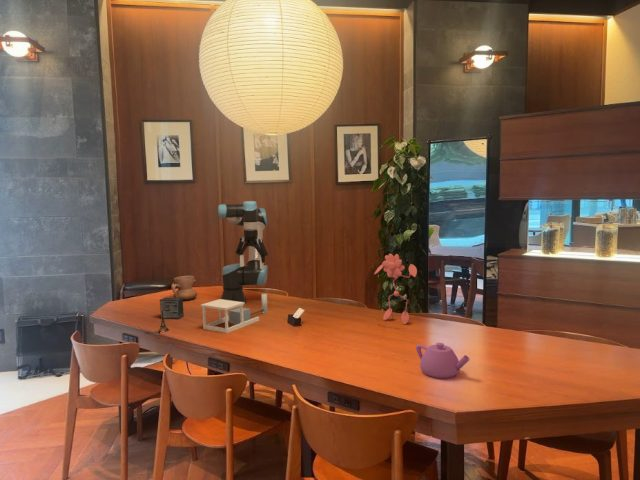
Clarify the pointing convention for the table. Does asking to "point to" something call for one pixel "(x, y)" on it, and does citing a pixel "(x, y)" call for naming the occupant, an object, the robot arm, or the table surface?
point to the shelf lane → (225, 306)
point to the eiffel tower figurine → (161, 326)
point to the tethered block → (246, 312)
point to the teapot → (440, 361)
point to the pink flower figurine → (395, 269)
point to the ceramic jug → (184, 288)
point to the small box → (171, 308)
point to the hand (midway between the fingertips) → (252, 267)
